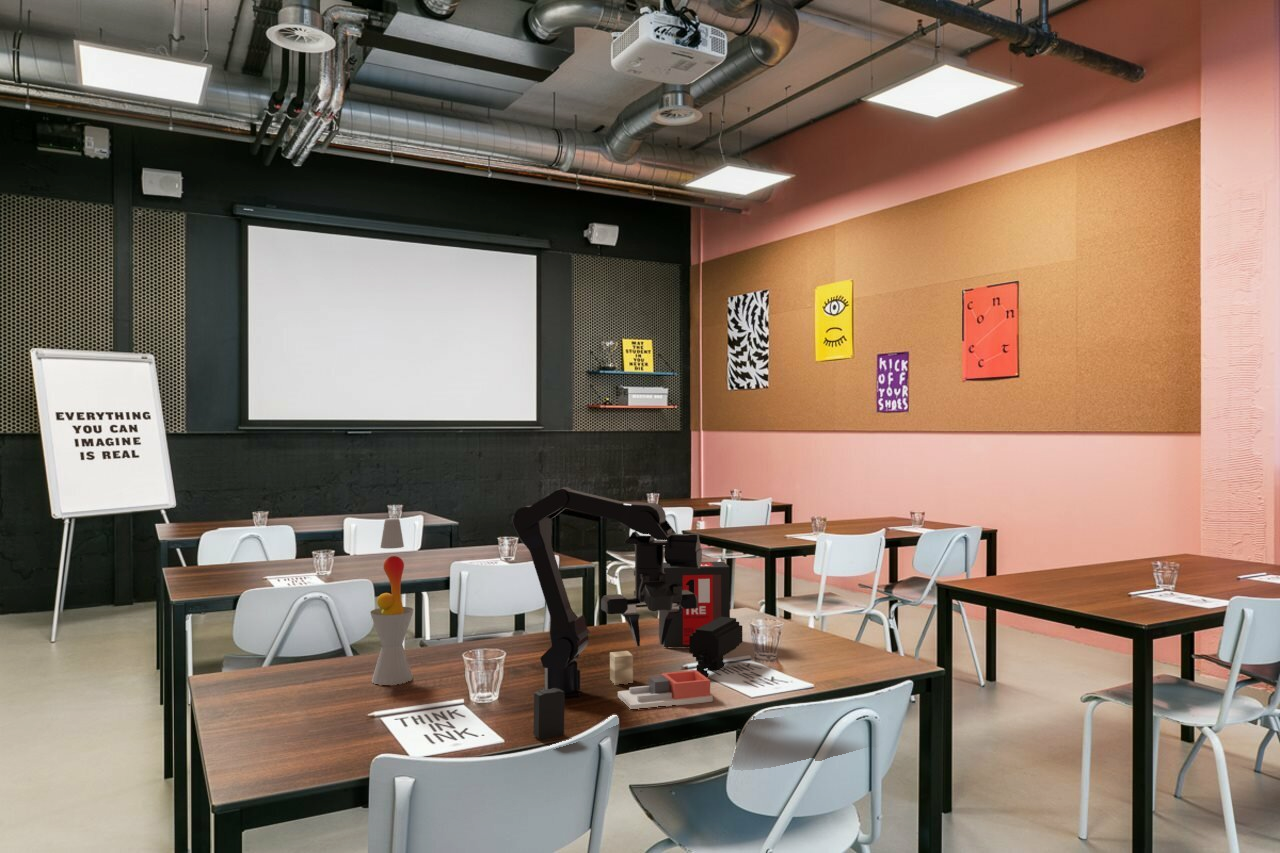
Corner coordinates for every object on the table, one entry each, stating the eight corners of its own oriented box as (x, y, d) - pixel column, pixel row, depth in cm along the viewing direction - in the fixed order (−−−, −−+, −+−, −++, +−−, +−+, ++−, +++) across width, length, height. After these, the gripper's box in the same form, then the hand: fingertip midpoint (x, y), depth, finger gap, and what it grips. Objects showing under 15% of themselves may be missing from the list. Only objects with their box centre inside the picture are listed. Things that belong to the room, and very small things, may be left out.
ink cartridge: (558, 731, 147) (559, 686, 147) (564, 735, 145) (564, 690, 145) (533, 736, 144) (533, 690, 145) (538, 740, 142) (539, 694, 143)
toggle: (655, 697, 162) (655, 682, 162) (649, 691, 166) (648, 676, 166) (669, 696, 163) (669, 681, 163) (663, 690, 167) (662, 675, 167)
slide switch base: (630, 710, 158) (630, 689, 158) (617, 696, 167) (617, 676, 167) (712, 701, 163) (712, 681, 163) (696, 688, 172) (696, 669, 172)
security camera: (683, 677, 180) (683, 631, 180) (716, 657, 196) (716, 615, 196) (713, 681, 176) (712, 635, 177) (743, 661, 193) (743, 618, 193)
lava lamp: (404, 671, 185) (404, 515, 186) (420, 680, 178) (419, 518, 179) (364, 678, 180) (364, 518, 180) (378, 688, 173) (378, 521, 173)
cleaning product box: (664, 648, 205) (663, 567, 205) (661, 639, 214) (660, 562, 214) (730, 647, 206) (729, 566, 206) (724, 638, 215) (723, 561, 215)
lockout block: (614, 685, 174) (614, 656, 174) (609, 680, 178) (609, 652, 178) (633, 683, 175) (632, 655, 176) (627, 678, 179) (627, 650, 179)
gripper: (615, 575, 154) (615, 659, 154) (707, 570, 159) (708, 651, 159) (600, 566, 165) (600, 645, 164) (687, 562, 170) (688, 638, 170)
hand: (649, 645), depth 164 cm, fingers open, 5 cm apart
